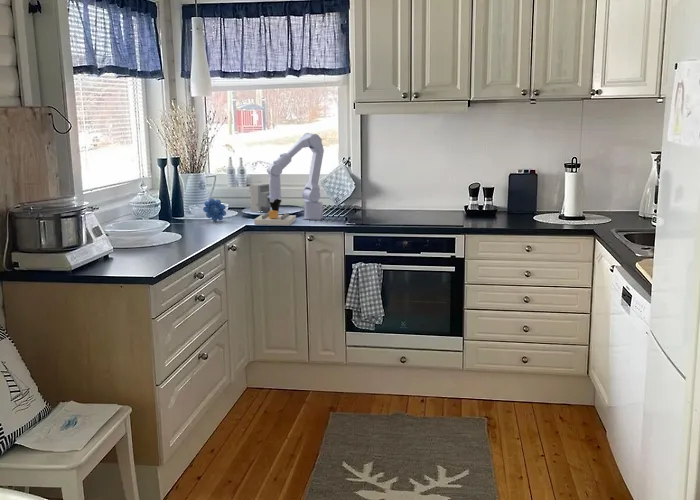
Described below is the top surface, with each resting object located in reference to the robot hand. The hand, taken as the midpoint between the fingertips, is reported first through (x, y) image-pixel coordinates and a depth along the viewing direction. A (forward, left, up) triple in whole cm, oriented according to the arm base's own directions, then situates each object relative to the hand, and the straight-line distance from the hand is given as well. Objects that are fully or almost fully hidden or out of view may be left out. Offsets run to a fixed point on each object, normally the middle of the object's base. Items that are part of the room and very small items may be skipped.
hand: (275, 214), depth 366 cm
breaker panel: (0, +1, -4) cm, 4 cm away
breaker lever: (0, +4, -1) cm, 4 cm away
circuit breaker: (+14, -27, -4) cm, 31 cm away
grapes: (+31, +4, -4) cm, 32 cm away
